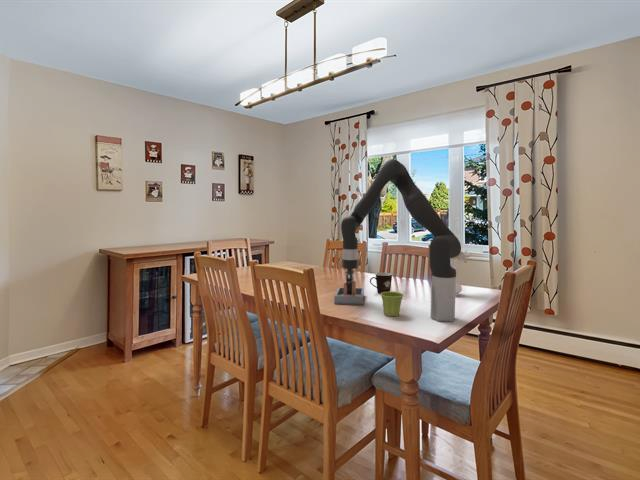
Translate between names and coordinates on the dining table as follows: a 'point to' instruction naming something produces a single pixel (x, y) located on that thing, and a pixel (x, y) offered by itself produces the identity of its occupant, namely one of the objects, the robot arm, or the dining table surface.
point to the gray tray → (349, 297)
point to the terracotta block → (352, 288)
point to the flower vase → (453, 265)
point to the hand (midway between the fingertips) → (349, 292)
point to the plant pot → (391, 303)
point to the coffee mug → (383, 282)
